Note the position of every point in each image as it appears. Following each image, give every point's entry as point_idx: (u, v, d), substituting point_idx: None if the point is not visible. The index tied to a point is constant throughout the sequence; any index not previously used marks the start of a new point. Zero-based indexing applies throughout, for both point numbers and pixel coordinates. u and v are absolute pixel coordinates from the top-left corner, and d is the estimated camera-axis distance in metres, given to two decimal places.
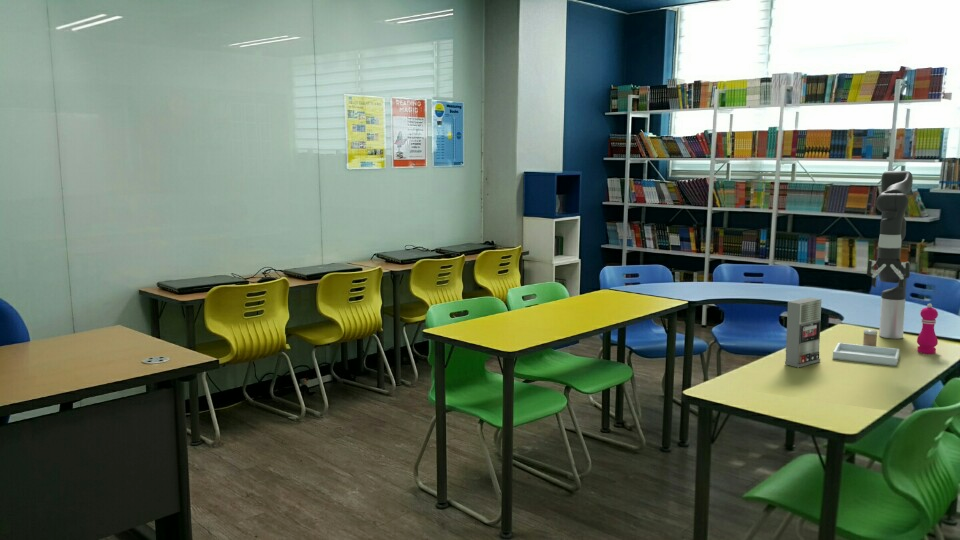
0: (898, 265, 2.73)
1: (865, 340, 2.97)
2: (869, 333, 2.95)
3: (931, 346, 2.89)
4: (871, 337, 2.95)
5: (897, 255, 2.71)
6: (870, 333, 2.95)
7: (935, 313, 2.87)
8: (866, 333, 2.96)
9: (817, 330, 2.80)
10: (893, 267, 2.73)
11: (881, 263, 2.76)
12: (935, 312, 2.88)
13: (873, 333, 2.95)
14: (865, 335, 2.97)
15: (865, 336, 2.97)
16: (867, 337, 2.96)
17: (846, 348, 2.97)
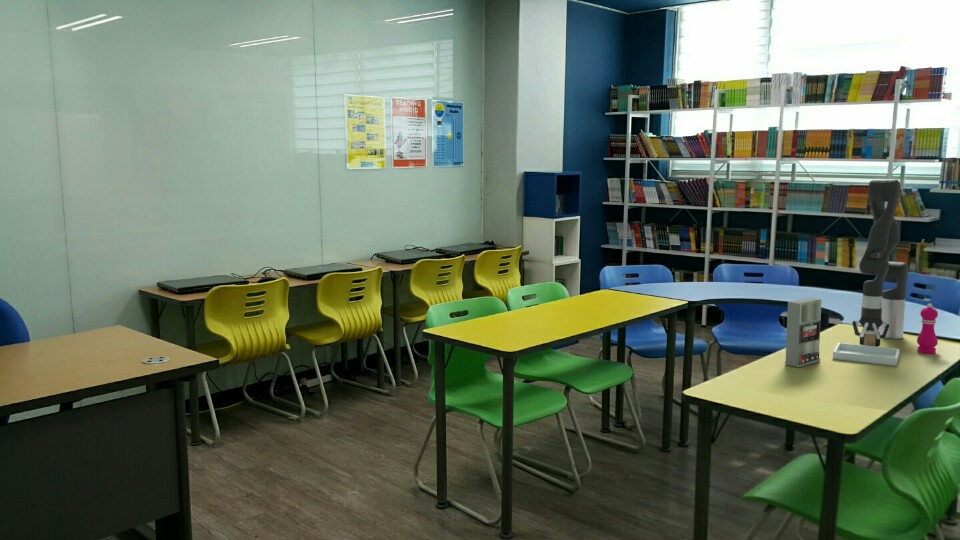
0: (879, 324, 2.94)
1: (865, 340, 2.97)
2: (869, 333, 2.95)
3: (931, 346, 2.89)
4: (871, 337, 2.95)
5: (878, 315, 2.93)
6: (870, 333, 2.95)
7: (935, 313, 2.87)
8: (866, 333, 2.96)
9: (817, 330, 2.80)
10: (874, 326, 2.95)
11: (863, 322, 2.97)
12: (935, 312, 2.88)
13: (873, 333, 2.95)
14: (865, 335, 2.97)
15: (865, 336, 2.97)
16: (867, 337, 2.96)
17: (846, 348, 2.97)
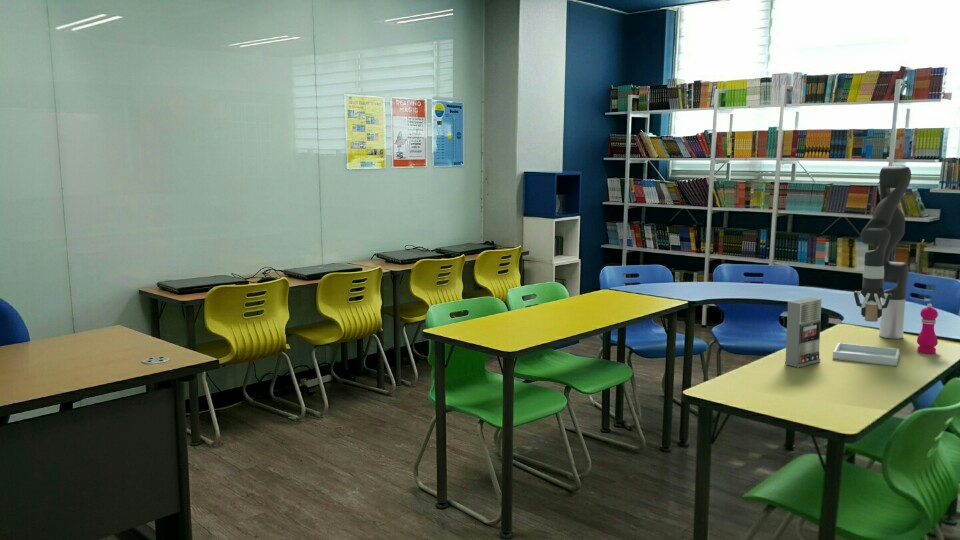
0: (881, 294, 2.92)
1: (867, 311, 2.95)
2: (871, 303, 2.94)
3: (931, 346, 2.89)
4: (873, 307, 2.94)
5: (880, 285, 2.91)
6: (872, 303, 2.93)
7: (935, 313, 2.87)
8: (868, 304, 2.95)
9: (817, 330, 2.80)
10: (876, 296, 2.93)
11: (865, 293, 2.95)
12: (935, 312, 2.88)
13: (875, 303, 2.93)
14: (867, 306, 2.95)
15: (867, 307, 2.95)
16: (869, 308, 2.94)
17: (846, 348, 2.97)
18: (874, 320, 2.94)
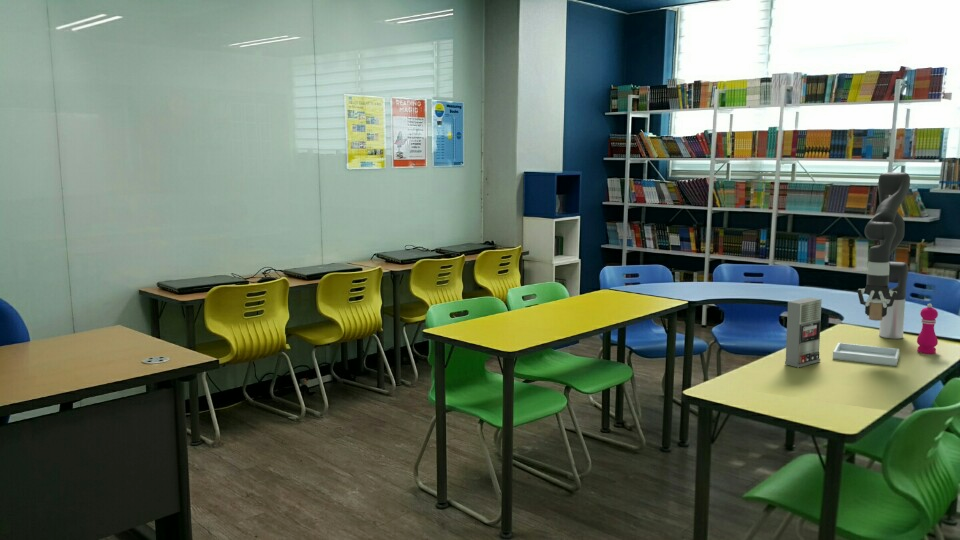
0: (886, 292, 2.79)
1: (871, 309, 2.82)
2: (875, 301, 2.80)
3: (931, 346, 2.89)
4: (877, 306, 2.80)
5: (885, 282, 2.77)
6: (876, 301, 2.80)
7: (935, 313, 2.87)
8: (872, 302, 2.81)
9: (817, 330, 2.80)
10: (881, 294, 2.79)
11: (869, 290, 2.82)
12: (935, 312, 2.88)
13: (879, 301, 2.80)
14: (871, 304, 2.82)
15: (871, 305, 2.82)
16: (873, 306, 2.81)
17: (846, 348, 2.97)
18: (879, 319, 2.81)
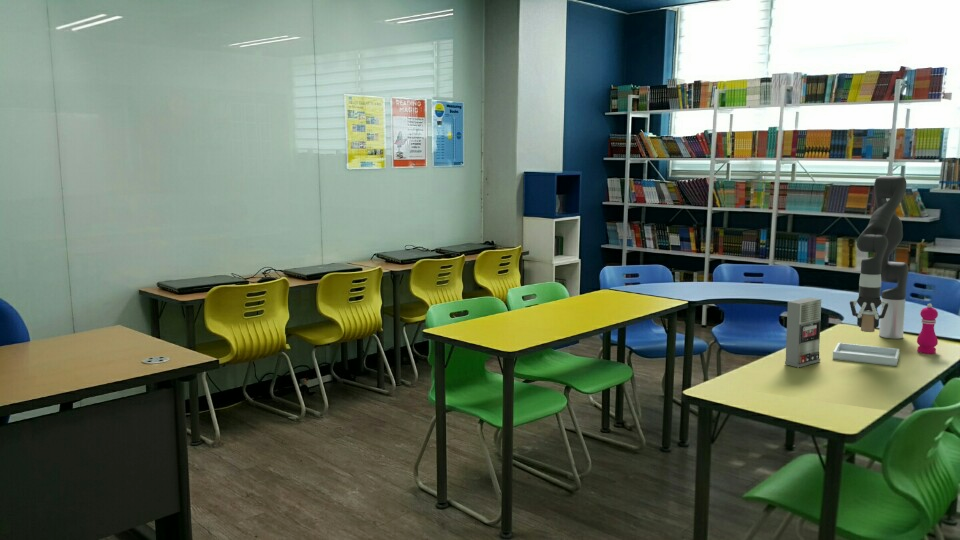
0: (878, 304, 2.81)
1: (863, 321, 2.84)
2: (867, 313, 2.82)
3: (931, 346, 2.89)
4: (869, 317, 2.82)
5: (877, 294, 2.79)
6: (868, 313, 2.82)
7: (935, 313, 2.87)
8: (864, 313, 2.83)
9: (817, 330, 2.80)
10: (872, 306, 2.81)
11: (861, 302, 2.84)
12: (935, 312, 2.88)
13: (871, 313, 2.82)
14: (863, 315, 2.84)
15: (863, 316, 2.84)
16: (865, 317, 2.83)
17: (846, 348, 2.97)
18: (871, 330, 2.83)
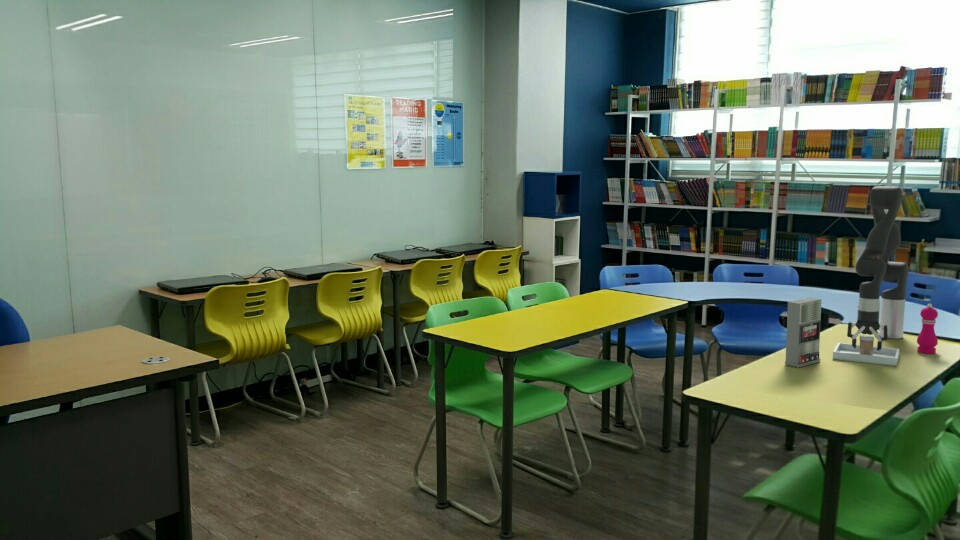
0: (877, 328, 2.82)
1: (861, 346, 2.86)
2: (865, 339, 2.84)
3: (931, 346, 2.89)
4: (868, 343, 2.84)
5: (876, 318, 2.81)
6: (866, 339, 2.84)
7: (935, 313, 2.87)
8: (862, 339, 2.85)
9: (817, 330, 2.80)
10: (872, 329, 2.83)
11: (860, 325, 2.85)
12: (935, 312, 2.88)
13: (870, 339, 2.83)
14: (861, 341, 2.85)
15: (861, 342, 2.85)
16: (863, 343, 2.85)
17: (846, 348, 2.97)
18: None
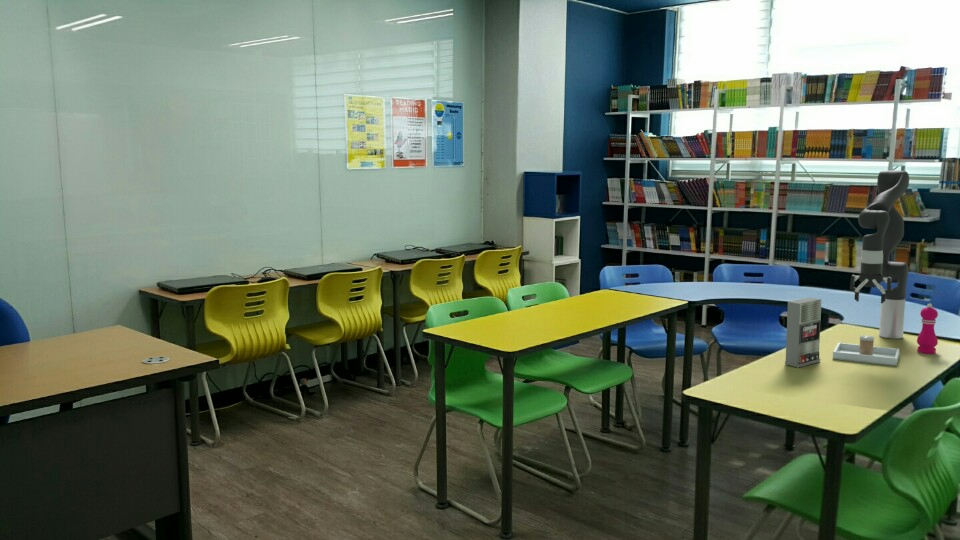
0: (880, 280, 2.80)
1: (861, 346, 2.86)
2: (865, 339, 2.84)
3: (931, 346, 2.89)
4: (868, 343, 2.84)
5: (879, 270, 2.79)
6: (866, 339, 2.84)
7: (935, 313, 2.87)
8: (862, 339, 2.85)
9: (817, 330, 2.80)
10: (875, 282, 2.80)
11: (863, 278, 2.83)
12: (935, 312, 2.88)
13: (870, 339, 2.83)
14: (861, 341, 2.85)
15: (861, 342, 2.85)
16: (863, 343, 2.85)
17: (846, 348, 2.97)
18: None
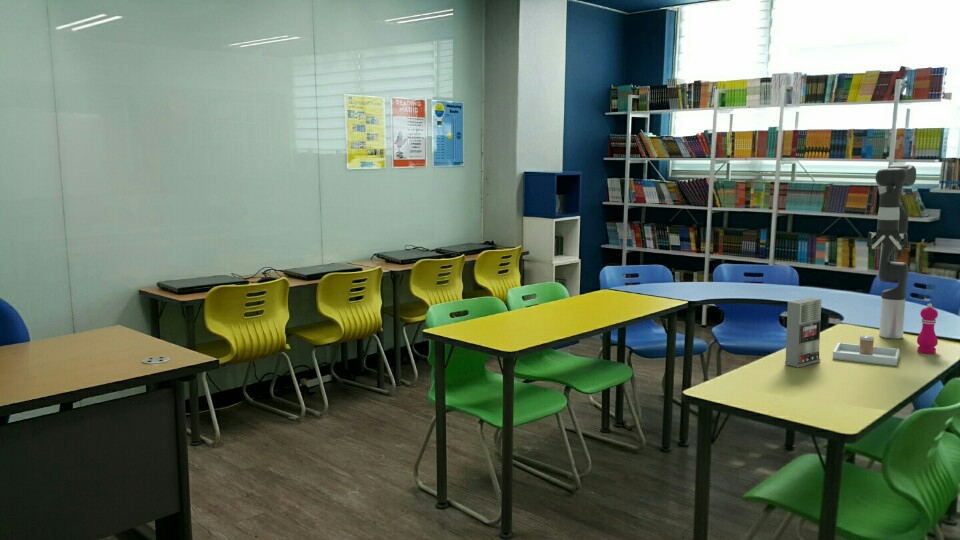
0: (896, 236, 2.88)
1: (861, 346, 2.86)
2: (865, 339, 2.84)
3: (931, 346, 2.89)
4: (868, 343, 2.84)
5: (895, 227, 2.87)
6: (866, 339, 2.84)
7: (935, 313, 2.87)
8: (862, 339, 2.85)
9: (817, 330, 2.80)
10: (892, 238, 2.88)
11: (880, 235, 2.91)
12: (935, 312, 2.88)
13: (870, 339, 2.83)
14: (861, 341, 2.85)
15: (861, 342, 2.85)
16: (863, 343, 2.85)
17: (846, 348, 2.97)
18: None
